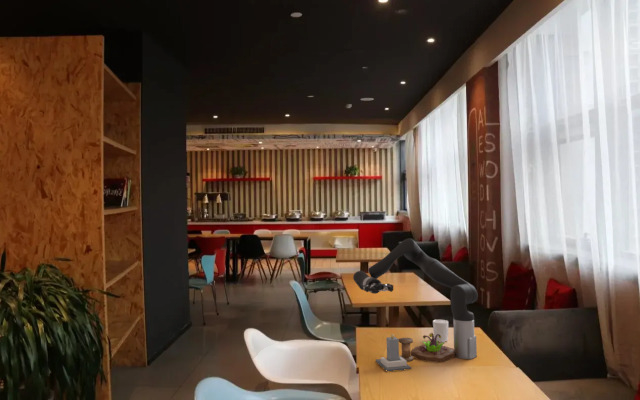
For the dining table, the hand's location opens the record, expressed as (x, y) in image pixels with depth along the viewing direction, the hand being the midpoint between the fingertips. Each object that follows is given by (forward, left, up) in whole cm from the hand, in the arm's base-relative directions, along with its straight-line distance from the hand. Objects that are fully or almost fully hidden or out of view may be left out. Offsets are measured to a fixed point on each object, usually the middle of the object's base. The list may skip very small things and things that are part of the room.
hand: (383, 290), depth 230 cm
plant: (-19, -13, -31) cm, 38 cm away
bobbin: (-12, +1, -30) cm, 32 cm away
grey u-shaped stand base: (-14, +12, -30) cm, 35 cm away
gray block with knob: (-14, +12, -29) cm, 35 cm away
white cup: (-8, -36, -30) cm, 48 cm away
